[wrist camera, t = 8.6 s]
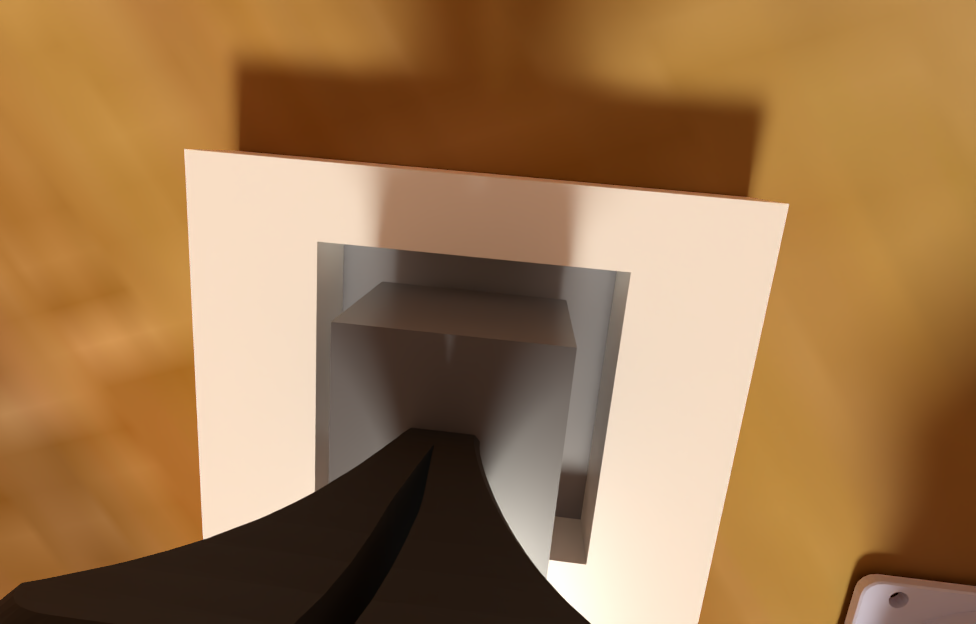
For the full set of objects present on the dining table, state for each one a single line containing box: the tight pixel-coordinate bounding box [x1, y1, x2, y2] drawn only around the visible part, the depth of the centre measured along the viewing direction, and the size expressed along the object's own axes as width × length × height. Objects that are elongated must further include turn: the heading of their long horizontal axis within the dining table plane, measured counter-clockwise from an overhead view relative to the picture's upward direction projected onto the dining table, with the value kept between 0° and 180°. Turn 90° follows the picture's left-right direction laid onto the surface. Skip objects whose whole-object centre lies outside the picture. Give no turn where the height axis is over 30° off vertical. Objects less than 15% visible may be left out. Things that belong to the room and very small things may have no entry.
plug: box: [328, 281, 577, 579], centre depth 13 cm, size 4×5×5 cm
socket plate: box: [184, 149, 789, 624], centre depth 15 cm, size 13×14×3 cm
